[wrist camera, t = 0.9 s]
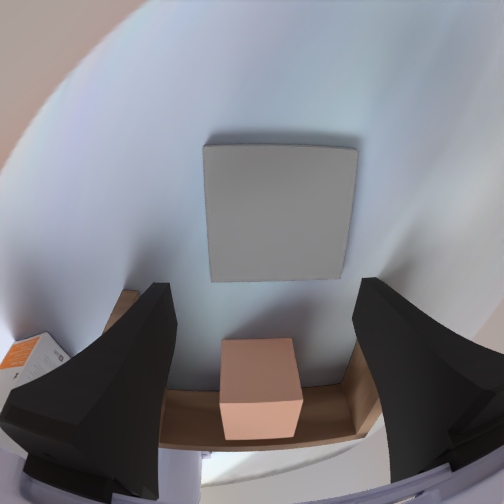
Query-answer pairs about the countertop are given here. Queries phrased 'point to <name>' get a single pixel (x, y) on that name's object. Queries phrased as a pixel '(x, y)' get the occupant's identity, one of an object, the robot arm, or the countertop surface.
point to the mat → (277, 210)
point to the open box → (306, 435)
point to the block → (259, 389)
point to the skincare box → (27, 372)
